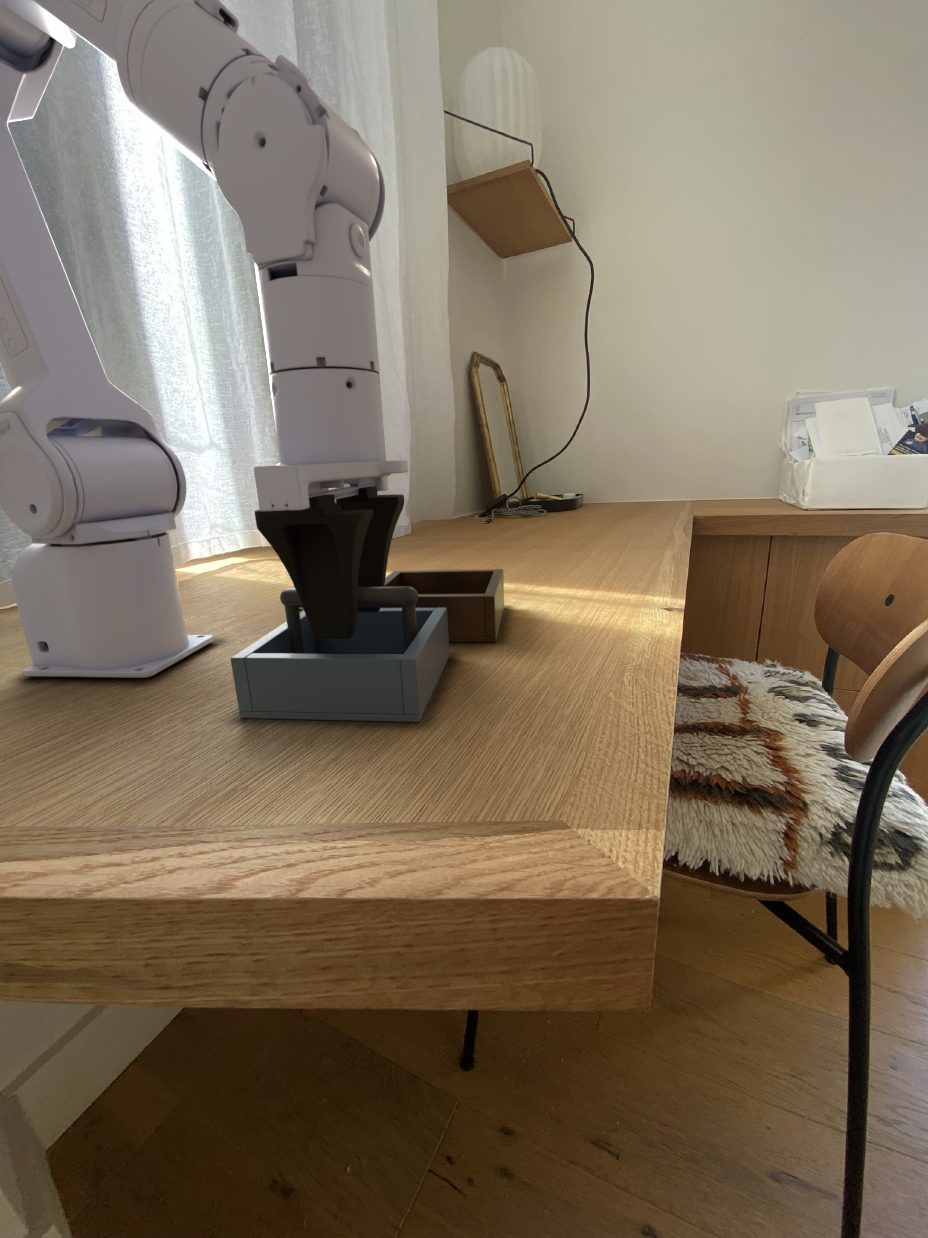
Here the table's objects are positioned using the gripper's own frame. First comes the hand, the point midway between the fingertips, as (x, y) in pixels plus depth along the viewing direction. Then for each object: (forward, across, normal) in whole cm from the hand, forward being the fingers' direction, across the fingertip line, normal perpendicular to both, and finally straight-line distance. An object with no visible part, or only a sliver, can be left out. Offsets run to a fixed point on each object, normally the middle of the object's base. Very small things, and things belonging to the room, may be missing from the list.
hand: (350, 622), depth 33 cm
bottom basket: (+4, +13, -3) cm, 14 cm away
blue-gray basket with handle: (+4, 0, 0) cm, 4 cm away
